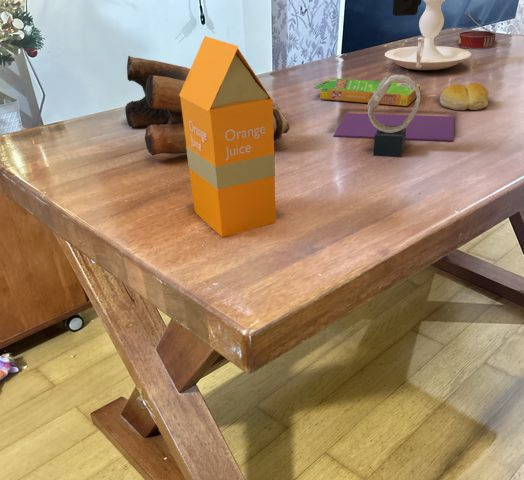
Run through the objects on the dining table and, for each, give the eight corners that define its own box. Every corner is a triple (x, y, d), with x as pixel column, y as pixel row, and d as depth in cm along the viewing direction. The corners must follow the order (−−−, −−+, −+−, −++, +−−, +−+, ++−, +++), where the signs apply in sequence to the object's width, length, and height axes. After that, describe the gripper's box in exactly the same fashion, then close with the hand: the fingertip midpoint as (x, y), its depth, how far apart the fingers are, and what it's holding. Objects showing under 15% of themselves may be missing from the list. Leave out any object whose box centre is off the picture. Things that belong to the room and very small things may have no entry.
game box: (406, 111, 108) (311, 98, 115) (418, 99, 114) (327, 88, 121) (409, 94, 106) (312, 82, 113) (421, 83, 112) (329, 73, 119)
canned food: (465, 60, 162) (477, 24, 159) (495, 60, 155) (509, 22, 152) (445, 44, 154) (458, 6, 152) (476, 44, 147) (490, 4, 145)
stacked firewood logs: (147, 67, 75) (309, 71, 84) (116, 54, 100) (243, 58, 108) (153, 162, 82) (302, 157, 90) (122, 128, 107) (242, 126, 115)
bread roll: (437, 100, 110) (440, 79, 108) (483, 100, 109) (488, 78, 106) (440, 111, 104) (444, 88, 101) (489, 111, 102) (494, 88, 100)
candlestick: (370, 78, 128) (381, -71, 111) (393, 58, 146) (406, -74, 128) (460, 83, 121) (487, -76, 104) (473, 61, 139) (498, -78, 121)
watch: (366, 143, 91) (371, 71, 84) (415, 146, 89) (425, 72, 82) (360, 154, 86) (366, 79, 80) (412, 157, 84) (422, 80, 78)
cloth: (453, 118, 100) (453, 116, 100) (453, 141, 90) (453, 139, 89) (345, 114, 105) (345, 113, 105) (333, 136, 94) (333, 134, 94)
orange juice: (245, 199, 74) (235, 32, 62) (277, 222, 68) (272, 41, 56) (192, 212, 71) (171, 40, 59) (220, 237, 65) (203, 51, 53)
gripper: (454, -169, 58) (433, 18, 68) (454, -154, 71) (436, 1, 81) (382, -161, 59) (373, 20, 70) (395, -147, 72) (385, 4, 83)
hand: (407, 10), depth 75 cm, fingers open, 9 cm apart
